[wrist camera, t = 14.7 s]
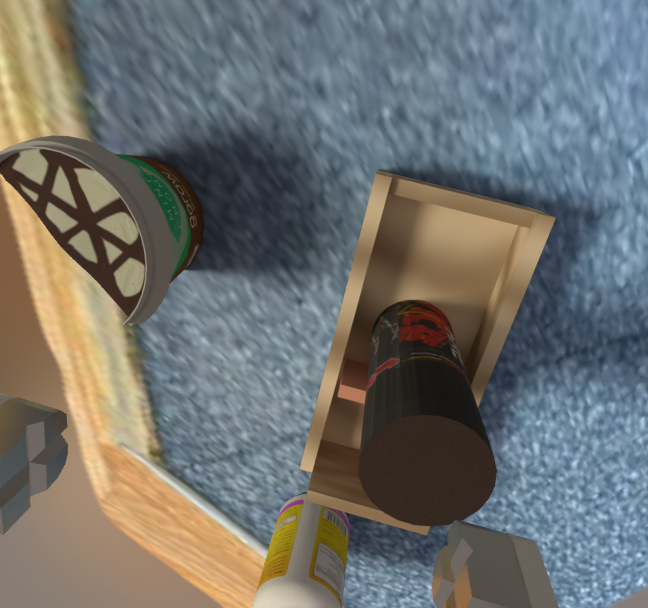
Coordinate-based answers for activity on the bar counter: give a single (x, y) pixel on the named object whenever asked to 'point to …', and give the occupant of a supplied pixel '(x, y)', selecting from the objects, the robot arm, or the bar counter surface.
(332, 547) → the supplement bottle
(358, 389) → the plate
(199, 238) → the food container
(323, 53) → the bar counter surface
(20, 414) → the robot arm
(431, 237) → the tray
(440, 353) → the deodorant
